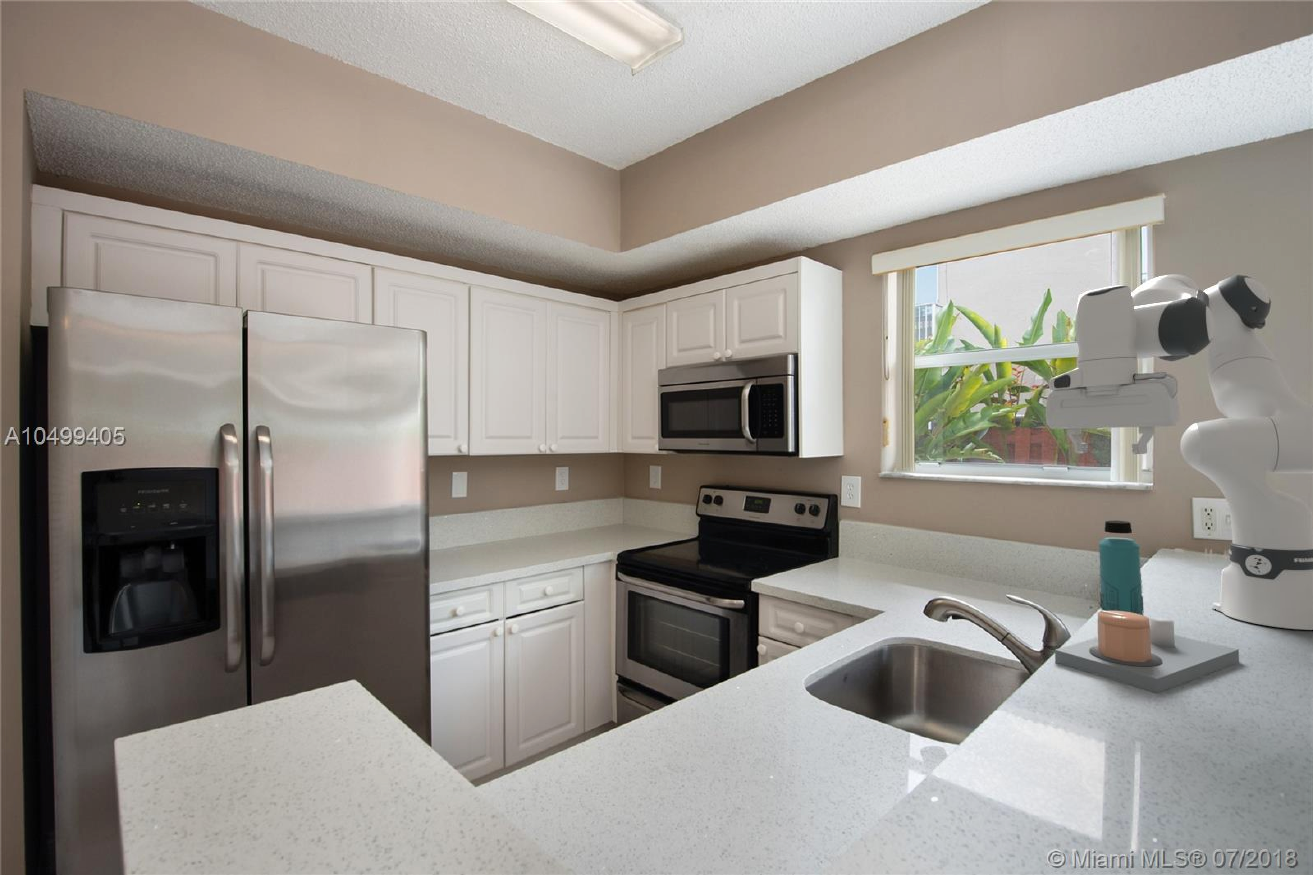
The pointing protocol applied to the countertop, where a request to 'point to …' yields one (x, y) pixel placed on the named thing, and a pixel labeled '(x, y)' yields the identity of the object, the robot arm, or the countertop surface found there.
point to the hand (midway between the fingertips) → (1109, 453)
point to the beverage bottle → (1120, 571)
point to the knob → (1124, 636)
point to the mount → (1153, 659)
